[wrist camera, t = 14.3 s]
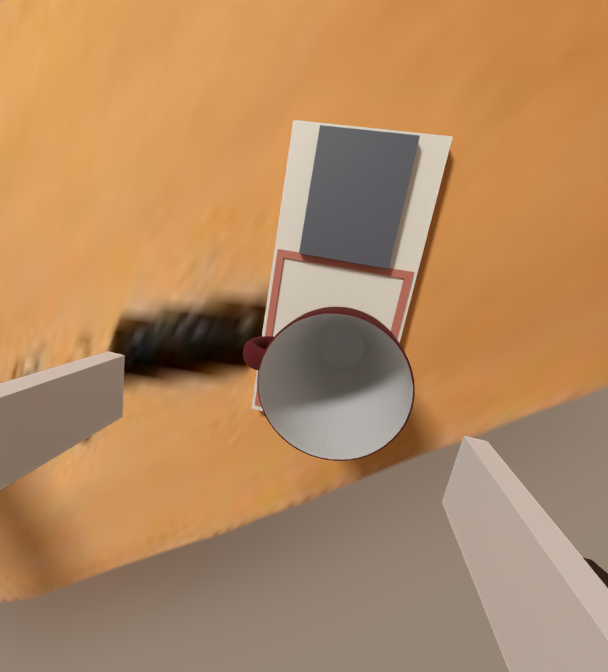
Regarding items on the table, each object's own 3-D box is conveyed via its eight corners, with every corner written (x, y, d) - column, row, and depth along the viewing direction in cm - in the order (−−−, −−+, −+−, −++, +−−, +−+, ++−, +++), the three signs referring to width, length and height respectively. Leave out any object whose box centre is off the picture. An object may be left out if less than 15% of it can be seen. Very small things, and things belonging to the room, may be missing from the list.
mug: (269, 387, 26) (218, 450, 17) (266, 298, 25) (207, 310, 15) (390, 394, 24) (411, 469, 15) (394, 297, 23) (420, 310, 13)
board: (255, 403, 28) (248, 412, 26) (296, 128, 23) (291, 114, 21) (373, 433, 26) (374, 445, 25) (447, 144, 21) (456, 130, 19)
